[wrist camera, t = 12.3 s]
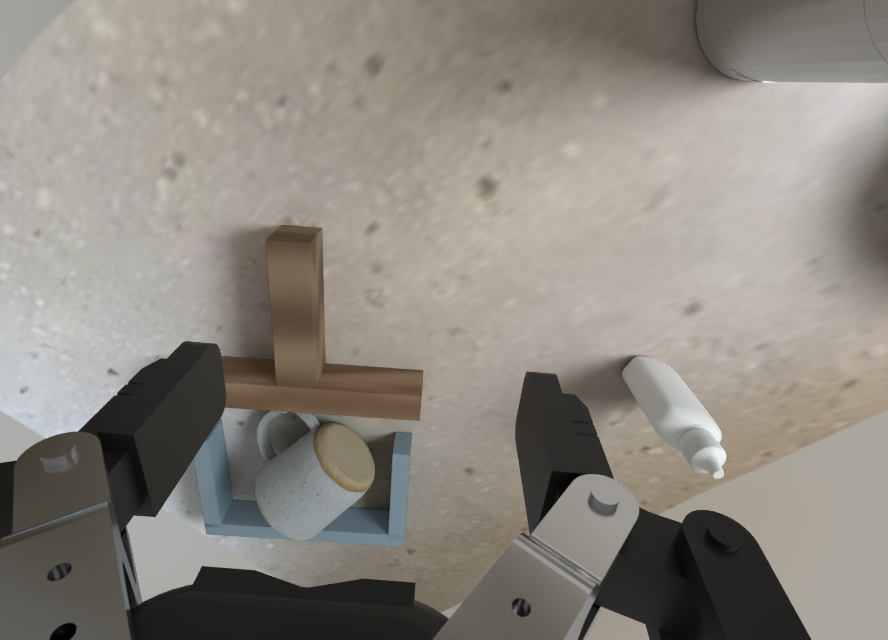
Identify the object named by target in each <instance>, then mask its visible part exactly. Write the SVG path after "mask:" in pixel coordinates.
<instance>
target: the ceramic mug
mask: <svg viewBox="0 0 888 640" xmlns="http://www.w3.org/2000/svg"><path fill="white" fill-rule="evenodd" d="M286 413H287V412H284V411H268V412H267V413H266V414H265V415H264V416H263V417H262V418H261V420H260V421H259V424H258V427H257V442H258V446H259V450H260V453H261V455H262V457H263V459H264V461H265V463H266V465H264V466H263V468H262V469H261V470H260V472H259V473H258V475H257V478H256V481H255V497H256V501H257V504H258V506H259V509H260V511H261V513H262V515H263V516H264V518H265V520H266V521H267V523H268V524H269V525H270V526H271V527H272V528H273V529H274V530H276V531H277V532H278V533H279V534H280V535H282V536H284V537H286V538H289V539H292V540H297V541H302V540H307V539H310V538H312V537H314V536H315V535H317V534H318V533H319V532H320V531H321V530H322V529H324V528H325V527H326V526H327V525H328V524H330V523H331V522H332V521H333V520H334V519H336V518H337V517H338V516H339V515H340V514H342V513H343V512H344V511H345V510H346V509H348V508H349V507H350V506H351V505H353V504H354V503H355V502H356V501H357V500H359V499H360V498H361V497H362V496H363V495H364V493H365V492H366V491H367V490H368V489H369V488H370V486H371V484H372V483H373V480H374V475H375V466H374V461H373V458H372V455H371V453H370V451H369V448H368V447H367V445H366V444H365V442H364V441H363V440H362V439H361V438H360V436H359V435H358V434H357V433H355V432H354V431H353V430H351V429H350V428H348V427H347V426H344V425H342V424H339V423H334V422H329V423H324V424H320V423H319V421H318V420H317V418H316V417H315V416H314V414H313V413H299V412H293V413H294V414H296V415H298V416H299V417H300V418H301V419H302V420H303V421H304V422H305V423H306V425H307V426H308V427H309V429H310V431H309V432H308V433H306V434H305V435H304V436H303V437H301V438H300V439H298V440H297V442H295V443H294V444H293V445H291V446H290V447H288V448H286V449H285V450H284V451H283V452H281V453H280V454H279V455H276V453H275V451H274V449H273V447H272V445H271V442H270V439H269V435H268V428H269V423H270V422H271V420H273V419H274V418H275V417H277V416H278V415H280V414H286Z"/></svg>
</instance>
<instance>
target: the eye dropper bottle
mask: <svg viewBox="0 0 888 640" xmlns="http://www.w3.org/2000/svg"><path fill="white" fill-rule="evenodd" d="M622 377H623V378H624V380H625V382H626V384H627V385H628V387H629V389H630V390H631V392H632V394H633V395H634V397H635V399H636V400H637V402H638V404H639V405H640V407H641V409H642V410H643V412H644V414H645V415H646V417H647V419H648V420H649V422H650V423H651V425H652V426H653V428H654V429H655V431H656V432H657V433H658V434H659V436H660V437H661V438H662V439H663V440H664V441H666V442H667V443H668V444H670V445H671V446H673V447H674V448H676V449H678V450H680V451H681V452H682V453H683V455H684V456H685V458H686V460H687V461H688V463H689V464H690V466H691V467H692V469H693V470H695V471H697V472H699V473H710V474H711V475H712V476H713V477H714V478H715V479H720V478H722V477H723V476H724V472H723V469H722V467H721V466H722V465H723V464H724V462H725V460H726V453H725V451H724V449H723V448H722V447H721V445H720V444H719V442H720V441H721V439H722V434H721V431H720V429H719V427H718V426H717V424H716V423H715V421H714V420H713V419H712V417H711V416H710V415H709V413H708V412H707V411H706V410H705V408H704V407H703V406H702V405H701V403H700V402H699V401H698V399H697V398H696V397H695V396H694V394H693V393H692V392H691V391H690V389H689V388H688V387H687V385H686V384H685V383H684V382H683V380H682V379H681V378H680V377H679V375H678V374H677V373H676V372H675V371H674V370H673V369H672V368H671V367H669V366H668V365H666V364H665V363H663V362H661V361H659V360H656V359H653V358H649V357H644V356H637V357H635V358H634V359H632V361H631V362H630V363H629V364H628V365H627V366H626V367H625V368H624V370H623V371H622Z"/></svg>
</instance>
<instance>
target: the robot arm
mask: <svg viewBox="0 0 888 640" xmlns="http://www.w3.org/2000/svg"><path fill="white" fill-rule="evenodd" d="M696 26H697V36H698V39H699V42H700V45H701V48H702V51H703V52H704V54H705V55H706V57H707V59H708V60H709V62H710V63H711V64H712V65H713V66H714V67H715V68H716V69H717V70H718V71H719V72H721V73H723V74H725V75H727V76H729V77H730V78H733V79H738V80H742V81H756V82H769V83H771V82H849V83H888V0H698V1H697V11H696ZM225 404H226V387H225V381H224V374H223V367H222V360H221V353H220V349H219V347H218V345H217V344H212V343H201V342H189V341H185V342H183V343H182V344H181V345H180V346H179V347H178V348H177V349H176V350H175V351H174V352H173V353H172V354H171V355H170V356H169V357H168V358H167V359H162V358H161V359H159V360H157V361H156V362H154V363H152V364H150V365H148V366H146V367H144V368H143V369H141V370H140V371H139V372H138V373H137V374H136V375H135V376H134V377H133V378H132V379H131V380H130V381H129V382H128V385H125V386H124V387H123V388H122V389H121V390H120V391H119V392H118V393H117V396H114V397H113V398H112V399H111V400H110V401H109V402H108V403H107V404H106V405H105V406H104V407H102V408H101V409H100V410H99V411H98V412H97V413H96V414H95V415H94V416H93V417H92V418H91V419H90V420H89V421H88V422H87V423H86V424H85V425H84V426H83V427H82V428H81V429H80V430H79V431H78V432H68V433H63V434H58V435H55V436H52V437H49V438H47V439H44V440H42V441H40V442H38V443H36V444H34V445H33V446H31V447H30V448H29V449H27V450H26V451H25V452H24V453H23V454H21V456H20V457H19V458H18V459H17V461H11V462H4V463H0V640H585V639H586V637H587V635H588V633H589V632H590V630H591V628H592V626H593V624H594V622H595V620H596V618H597V617H598V615H599V613H600V611H601V609H602V607H604V608H607V609H609V610H611V611H614V612H616V613H619V614H621V615H624V616H626V617H629V618H631V619H634V620H636V621H639V622H642V623H644V624H646V628H647V631H648V635H649V639H650V640H811V638H810V636H809V634H808V633H807V631H806V629H805V627H804V625H803V624H802V622H801V620H800V618H799V616H798V615H797V613H796V611H795V609H794V607H793V606H792V604H791V602H790V600H789V598H788V597H787V595H786V593H785V591H784V589H783V588H782V586H781V584H780V582H779V580H778V579H777V577H776V575H775V573H774V571H773V570H772V568H771V566H770V564H769V562H768V561H767V559H766V557H765V555H764V553H763V551H762V550H761V548H760V546H759V544H758V543H757V541H756V540H755V538H754V537H753V536H752V535H751V533H750V532H748V530H746V529H745V528H744V527H743V526H742V525H740V524H739V523H738V522H736V521H734V520H733V519H731V518H729V517H727V516H725V515H723V514H720V513H717V512H714V511H709V510H696V511H693V512H691V513H689V514H688V515H687V516H686V517H685V519H684V520H683V523H680V522H677V521H674V520H671V519H668V518H665V517H661V516H659V515H656V514H653V513H651V512H648V511H646V510H644V509H642V508H640V507H639V505H638V503H637V500H636V498H635V497H634V495H633V494H632V493H631V492H630V491H629V490H628V489H627V488H626V487H625V486H624V485H622V484H621V483H619V482H618V481H616V480H614V478H613V475H612V472H611V470H610V467H609V464H608V462H607V459H606V456H605V453H604V451H603V448H602V445H601V443H600V440H599V437H597V432H596V429H595V427H594V425H593V421H592V419H591V416H590V413H589V411H588V408H587V407H586V406H585V405H584V404H583V403H582V402H581V401H580V400H579V399H578V397H577V396H576V395H572V394H562V391H561V388H560V384H559V381H558V378H557V375H556V374H550V373H539V372H527V373H526V375H525V378H524V383H523V388H522V393H521V398H520V403H519V409H518V414H517V419H516V429H515V438H516V447H517V453H518V460H519V466H520V473H521V479H522V486H523V492H524V499H525V506H526V512H527V519H528V525H529V532H530V536H529V537H528V536H527V535H525V534H524V533H522V534H520V535H518V536H517V537H516V538H515V539H514V541H513V542H512V543H511V544H510V545H509V547H508V548H507V549H506V550H505V551H504V553H503V554H502V555H501V556H500V558H499V559H498V560H497V561H496V562H495V564H494V565H493V566H492V567H491V569H490V570H489V571H488V572H487V573H486V575H485V576H484V577H483V578H482V580H481V581H480V582H479V583H478V584H477V586H476V587H475V588H474V589H473V591H472V592H471V593H470V594H469V595H468V597H467V598H466V599H465V600H464V602H463V603H462V604H461V605H460V607H459V608H458V609H457V610H456V612H455V613H454V614H453V615H452V616H451V617H450V619H448V618H447V617H446V616H444V615H443V614H441V613H440V612H438V611H437V610H435V609H433V608H431V607H429V606H428V605H426V604H423V603H421V602H418V601H415V600H414V595H415V583H412V582H399V581H386V580H373V579H359V580H353V581H347V582H341V583H335V584H328V585H322V586H316V587H309V588H306V587H300V586H297V585H295V584H292V583H289V582H286V581H283V580H281V579H278V578H275V577H272V576H269V575H266V574H264V573H261V572H258V571H255V570H244V569H231V568H218V567H217V568H216V567H205V566H204V567H203V566H202V567H201V569H200V572H199V573H198V576H197V577H196V579H195V581H194V583H193V585H187V586H184V587H180V588H176V589H173V590H170V591H167V592H165V593H162V594H159V595H157V596H155V597H153V598H151V599H148V600H146V601H144V602H142V598H141V594H140V588H139V583H138V578H137V573H136V569H135V563H134V558H133V553H132V548H131V544H130V538H129V534H128V531H127V527H126V526H127V524H128V523H129V521H130V520H131V518H132V517H133V516H134V515H136V516H149V517H156V515H157V514H158V512H159V510H160V509H161V508H162V506H163V504H164V503H165V501H166V500H167V498H168V497H169V495H170V494H171V492H172V491H173V489H174V488H175V486H176V485H177V483H178V482H179V480H180V479H181V477H182V476H183V474H184V473H185V471H186V470H187V468H188V466H189V465H190V463H191V462H192V460H193V459H194V457H195V456H196V454H197V453H198V451H199V450H200V448H201V447H202V445H203V444H204V442H205V441H206V439H207V438H208V436H209V435H210V433H211V431H212V430H213V428H214V427H215V425H216V424H217V422H218V421H219V419H220V418H221V416H222V414H223V412H224V408H225Z"/></svg>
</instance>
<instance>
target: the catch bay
mask: <svg viewBox="0 0 888 640" xmlns="http://www.w3.org/2000/svg"><path fill="white" fill-rule="evenodd" d="M411 439H412V433H402V432H396V434H395V441H394V448H393V458H392V478H391V497H390V510H377V509H362V508H348V509H346V510H345V511H344V512H343V513H342V514H340V515H339V516H338V517H337V518H336V519H334V520H333V521H332V522H331V523H330V524H328V525H327V526H326V527H325V528H324V529H322V530H321V531H320V532H319V533H318V534H317V535H315V536H314V537H312V538H310V539H307V540H305V541H321V542H337V543H353V544H370V545H386V546H402V547H403V545H404V534H405V523H406V509H407V495H408V481H409V467H410V453H411ZM194 465H195V471H196V477H197V482H198V488H199V494H200V500H201V505H202V511H203V517H204V522H205V528H206V534H208V535H224V536H240V537H256V538H273V539H289V538H286V537H284V536H282V535H280V534H279V533H278V532H277V531H276V530H274V529H273V528H272V527H271V526H270V525H269V524H268V523H267V521H266V520H265V518H264V516H263V515H262V513H261V511H260V509H259V506H258V504H257V502H253V501H237V500H233V499H232V491H231V484H230V476H229V469H228V462H227V454H226V447H225V440H224V432H223V425H222V420H219V421H218V422H217V424H216V425H215V427H214V428H213V430H212V431H211V433H210V435H209V436H208V438H207V439H206V441H205V442H204V444H203V445H202V447H201V448H200V450H199V451H198V453H197V454H196V456H195V457H194ZM289 540H292V539H289Z"/></svg>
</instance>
